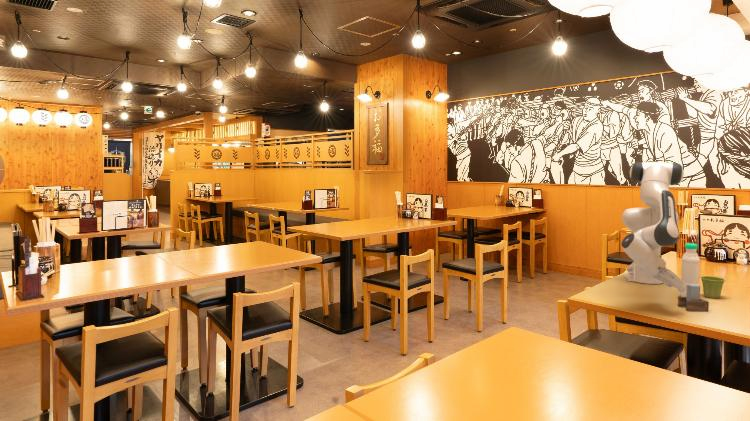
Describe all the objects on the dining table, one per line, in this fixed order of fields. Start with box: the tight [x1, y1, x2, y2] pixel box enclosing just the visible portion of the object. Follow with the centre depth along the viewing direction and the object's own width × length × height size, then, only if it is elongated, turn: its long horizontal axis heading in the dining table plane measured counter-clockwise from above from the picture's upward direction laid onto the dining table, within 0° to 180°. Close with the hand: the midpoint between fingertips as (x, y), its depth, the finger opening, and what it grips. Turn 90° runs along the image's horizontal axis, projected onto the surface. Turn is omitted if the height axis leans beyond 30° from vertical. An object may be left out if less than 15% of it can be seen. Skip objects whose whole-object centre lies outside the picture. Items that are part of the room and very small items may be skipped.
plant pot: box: [700, 275, 726, 299], centre depth 220 cm, size 9×9×9 cm
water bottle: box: [679, 242, 701, 297], centre depth 219 cm, size 7×7×25 cm
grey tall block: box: [686, 284, 701, 301], centre depth 202 cm, size 4×4×10 cm
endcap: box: [677, 296, 710, 312], centre depth 203 cm, size 8×8×4 cm
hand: (677, 288), depth 202 cm, fingers open, 8 cm apart
